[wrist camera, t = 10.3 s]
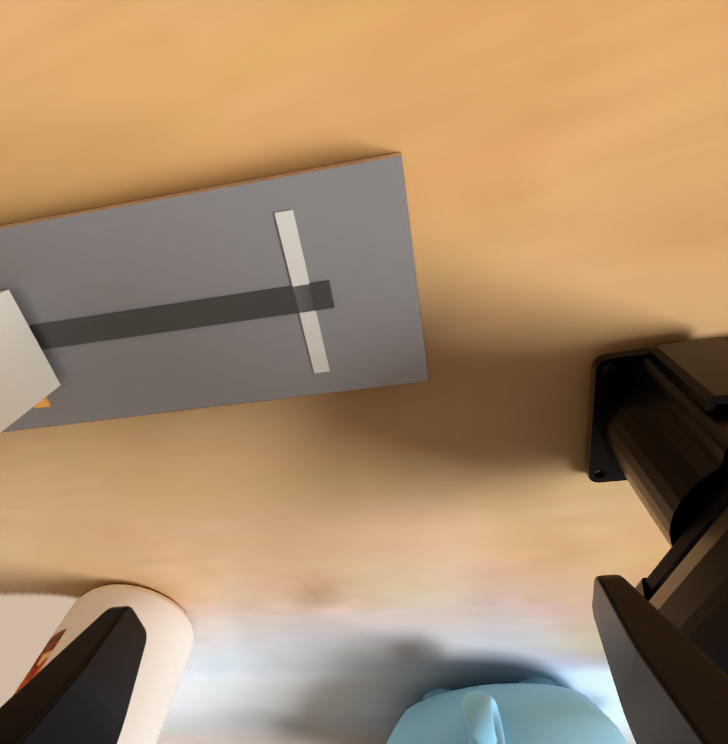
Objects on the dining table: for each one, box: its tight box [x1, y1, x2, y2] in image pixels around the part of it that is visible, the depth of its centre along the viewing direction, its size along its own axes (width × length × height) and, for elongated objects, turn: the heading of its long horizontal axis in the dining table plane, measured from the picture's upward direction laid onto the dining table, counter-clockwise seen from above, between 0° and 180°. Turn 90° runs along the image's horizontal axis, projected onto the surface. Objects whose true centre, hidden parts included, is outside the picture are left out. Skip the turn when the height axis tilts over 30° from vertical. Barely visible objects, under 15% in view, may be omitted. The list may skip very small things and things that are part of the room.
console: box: [0, 152, 428, 432], centre depth 18 cm, size 8×24×2 cm, turn 100°
